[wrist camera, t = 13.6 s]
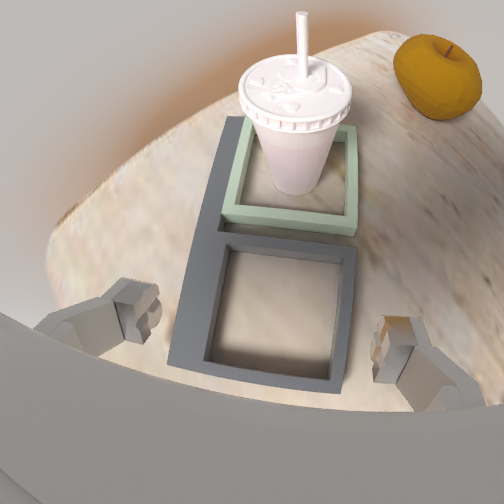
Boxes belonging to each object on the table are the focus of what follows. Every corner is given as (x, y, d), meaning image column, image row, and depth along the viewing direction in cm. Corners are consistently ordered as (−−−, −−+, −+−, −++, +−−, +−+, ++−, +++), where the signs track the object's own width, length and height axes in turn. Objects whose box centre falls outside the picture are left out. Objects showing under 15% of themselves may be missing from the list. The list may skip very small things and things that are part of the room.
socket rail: (353, 137, 24) (356, 126, 23) (336, 391, 18) (340, 394, 16) (230, 127, 26) (227, 116, 25) (174, 364, 20) (166, 364, 18)
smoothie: (351, 181, 23) (390, 28, 10) (290, 227, 22) (286, 66, 9) (299, 134, 25) (296, -12, 12) (239, 172, 24) (197, 20, 11)
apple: (372, 108, 25) (389, 35, 17) (400, 72, 27) (414, 10, 19) (452, 156, 23) (491, 90, 14) (467, 110, 24) (494, 53, 16)
